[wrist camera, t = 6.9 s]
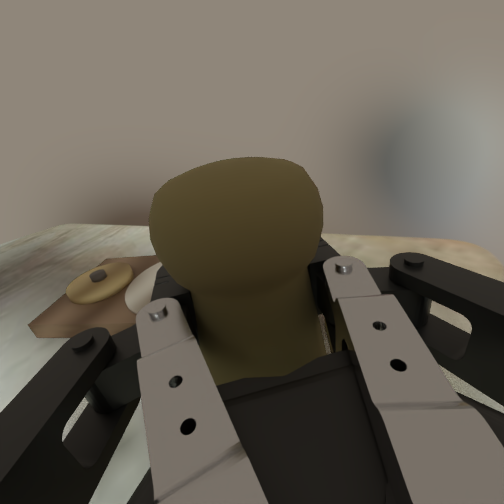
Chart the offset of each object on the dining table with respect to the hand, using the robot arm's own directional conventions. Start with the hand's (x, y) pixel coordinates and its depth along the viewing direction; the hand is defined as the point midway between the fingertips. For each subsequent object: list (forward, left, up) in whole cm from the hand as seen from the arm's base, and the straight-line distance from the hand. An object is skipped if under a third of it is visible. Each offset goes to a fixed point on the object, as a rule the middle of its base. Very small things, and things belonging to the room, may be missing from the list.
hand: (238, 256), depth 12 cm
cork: (+1, -3, -7) cm, 7 cm away
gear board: (-9, +9, -9) cm, 16 cm away
